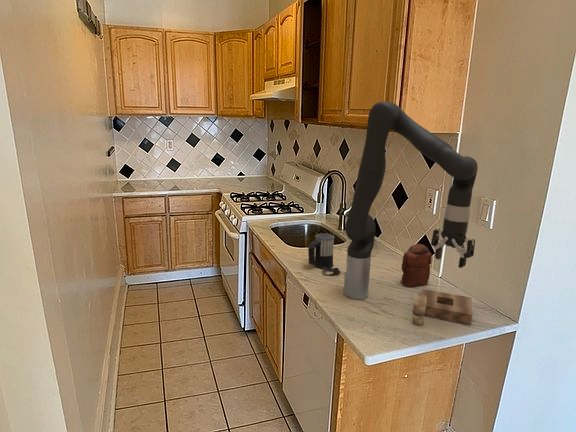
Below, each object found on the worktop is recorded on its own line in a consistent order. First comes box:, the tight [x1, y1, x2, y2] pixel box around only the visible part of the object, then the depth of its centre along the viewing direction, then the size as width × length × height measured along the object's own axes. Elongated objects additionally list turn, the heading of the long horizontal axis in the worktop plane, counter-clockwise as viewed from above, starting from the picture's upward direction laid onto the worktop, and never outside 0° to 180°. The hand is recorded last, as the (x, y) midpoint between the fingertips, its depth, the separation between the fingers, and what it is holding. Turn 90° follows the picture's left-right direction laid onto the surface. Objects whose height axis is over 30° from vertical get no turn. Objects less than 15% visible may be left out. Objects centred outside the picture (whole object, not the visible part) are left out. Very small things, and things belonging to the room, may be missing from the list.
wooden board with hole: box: [420, 288, 473, 326], centre depth 144 cm, size 18×14×4 cm
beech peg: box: [412, 294, 427, 326], centre depth 135 cm, size 4×4×10 cm
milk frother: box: [307, 233, 341, 275], centre depth 180 cm, size 14×16×15 cm
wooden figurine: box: [400, 243, 433, 288], centre depth 164 cm, size 12×6×18 cm, turn 108°
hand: (449, 263), depth 133 cm, fingers open, 8 cm apart
